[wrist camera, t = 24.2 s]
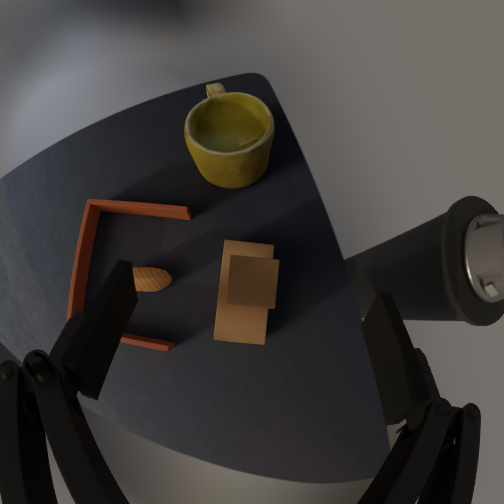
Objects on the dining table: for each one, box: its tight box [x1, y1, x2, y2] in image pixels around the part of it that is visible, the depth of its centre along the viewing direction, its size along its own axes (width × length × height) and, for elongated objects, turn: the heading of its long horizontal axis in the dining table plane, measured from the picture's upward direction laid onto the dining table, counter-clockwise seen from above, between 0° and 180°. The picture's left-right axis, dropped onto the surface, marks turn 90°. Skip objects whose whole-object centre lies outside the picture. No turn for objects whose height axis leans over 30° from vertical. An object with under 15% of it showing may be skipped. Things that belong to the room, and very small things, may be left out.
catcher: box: [67, 199, 191, 351], centre depth 29 cm, size 13×15×3 cm
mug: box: [185, 83, 275, 189], centre depth 30 cm, size 12×10×10 cm
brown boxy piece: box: [214, 240, 279, 344], centre depth 23 cm, size 10×5×16 cm, turn 174°
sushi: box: [133, 267, 172, 292], centre depth 29 cm, size 3×6×3 cm, turn 93°
